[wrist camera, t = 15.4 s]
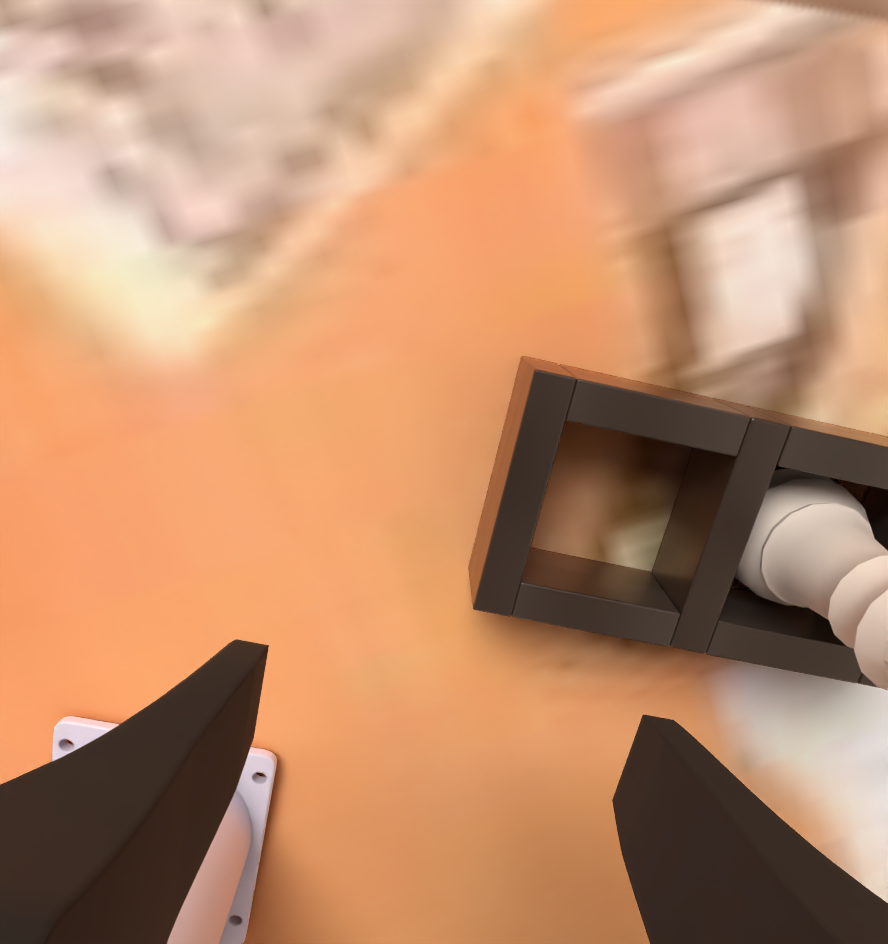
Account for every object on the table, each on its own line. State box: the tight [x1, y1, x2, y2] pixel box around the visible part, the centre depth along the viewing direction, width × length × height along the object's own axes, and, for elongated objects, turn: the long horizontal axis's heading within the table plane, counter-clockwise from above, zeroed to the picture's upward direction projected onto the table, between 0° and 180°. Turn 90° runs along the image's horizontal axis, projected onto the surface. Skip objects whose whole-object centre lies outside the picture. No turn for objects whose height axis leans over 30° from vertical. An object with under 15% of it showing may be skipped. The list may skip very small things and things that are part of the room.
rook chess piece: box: [735, 469, 888, 690], centre depth 19 cm, size 4×4×8 cm
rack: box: [469, 356, 888, 688], centre depth 21 cm, size 14×7×3 cm, turn 78°
